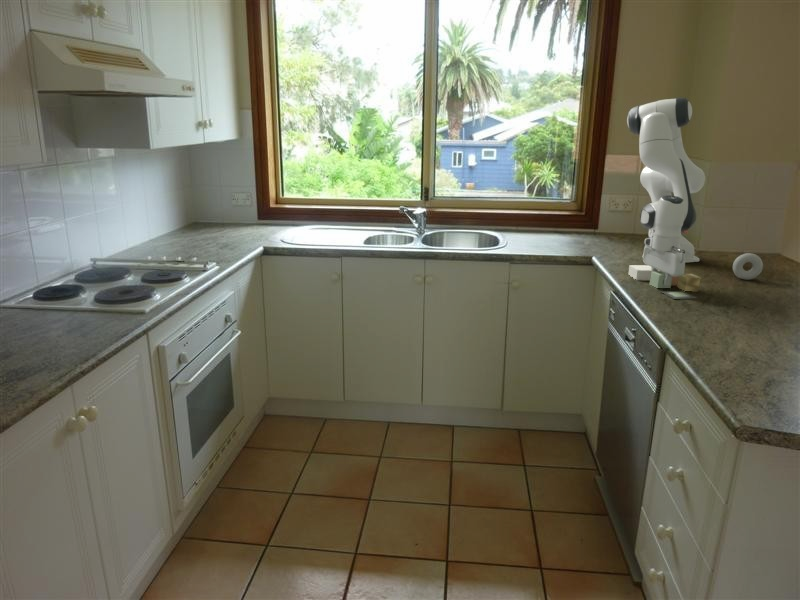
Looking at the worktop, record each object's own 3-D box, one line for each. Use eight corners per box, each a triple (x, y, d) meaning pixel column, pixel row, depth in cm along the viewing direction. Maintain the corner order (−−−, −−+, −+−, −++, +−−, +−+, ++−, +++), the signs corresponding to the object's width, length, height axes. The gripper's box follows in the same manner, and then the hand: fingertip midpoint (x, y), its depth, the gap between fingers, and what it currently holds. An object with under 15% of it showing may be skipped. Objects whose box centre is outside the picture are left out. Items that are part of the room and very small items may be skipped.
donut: (758, 279, 224) (763, 253, 221) (761, 281, 221) (766, 255, 218) (729, 277, 226) (733, 251, 223) (731, 279, 223) (736, 253, 220)
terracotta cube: (671, 281, 220) (673, 268, 218) (679, 285, 215) (681, 271, 213) (658, 282, 219) (660, 268, 217) (666, 285, 214) (668, 272, 213)
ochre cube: (689, 287, 212) (691, 273, 211) (698, 291, 208) (700, 277, 206) (676, 287, 212) (678, 274, 210) (685, 291, 207) (687, 277, 205)
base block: (649, 275, 229) (650, 265, 227) (657, 281, 221) (659, 270, 220) (628, 275, 229) (629, 265, 227) (636, 280, 221) (637, 270, 220)
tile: (682, 292, 206) (682, 290, 206) (696, 298, 199) (696, 297, 198) (660, 292, 205) (660, 291, 205) (674, 299, 197) (674, 298, 197)
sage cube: (662, 284, 215) (664, 271, 213) (670, 288, 210) (672, 274, 209) (649, 285, 214) (651, 271, 213) (657, 289, 209) (659, 275, 208)
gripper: (692, 250, 198) (686, 290, 202) (658, 238, 218) (653, 275, 222) (675, 250, 197) (669, 291, 201) (642, 238, 217) (637, 275, 221)
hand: (660, 282), depth 212 cm, fingers closed on sage cube, 5 cm apart
